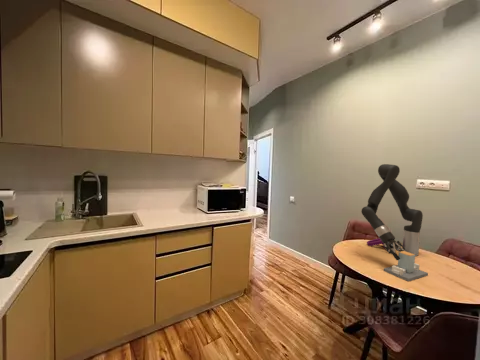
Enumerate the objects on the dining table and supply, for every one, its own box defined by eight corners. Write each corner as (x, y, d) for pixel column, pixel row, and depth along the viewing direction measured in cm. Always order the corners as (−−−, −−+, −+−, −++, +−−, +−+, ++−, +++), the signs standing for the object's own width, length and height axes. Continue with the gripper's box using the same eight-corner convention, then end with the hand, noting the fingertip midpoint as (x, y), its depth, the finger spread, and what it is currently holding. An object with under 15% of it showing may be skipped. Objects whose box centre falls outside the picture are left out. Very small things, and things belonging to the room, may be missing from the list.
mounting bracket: (371, 254, 170) (397, 249, 162) (366, 244, 172) (392, 238, 164) (370, 251, 179) (395, 245, 171) (366, 241, 180) (390, 235, 172)
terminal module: (402, 267, 130) (403, 250, 130) (413, 272, 125) (415, 254, 124) (397, 268, 128) (398, 251, 128) (408, 273, 123) (410, 255, 122)
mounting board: (402, 266, 137) (403, 258, 137) (427, 275, 125) (428, 267, 125) (383, 270, 128) (384, 263, 128) (408, 281, 116) (409, 273, 116)
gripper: (382, 232, 132) (401, 257, 122) (395, 230, 138) (415, 254, 129) (373, 238, 137) (390, 263, 127) (386, 236, 143) (404, 259, 134)
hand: (402, 258), depth 128 cm, fingers open, 8 cm apart
